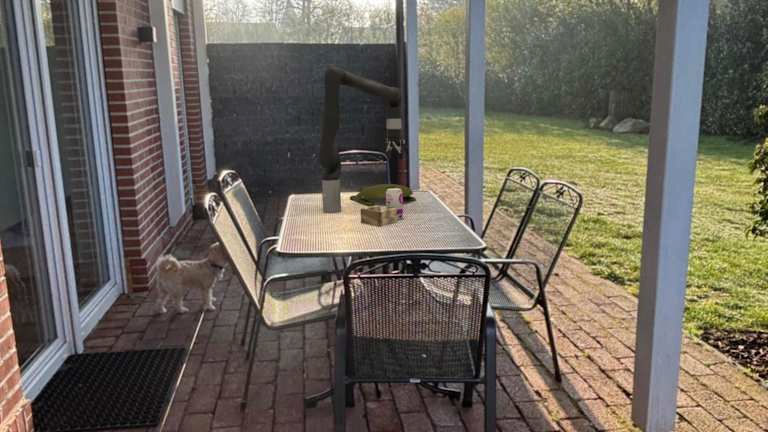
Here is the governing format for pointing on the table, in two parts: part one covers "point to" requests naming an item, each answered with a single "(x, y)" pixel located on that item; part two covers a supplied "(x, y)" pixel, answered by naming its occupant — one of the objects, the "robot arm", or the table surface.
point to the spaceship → (380, 193)
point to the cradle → (378, 216)
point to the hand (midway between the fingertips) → (394, 159)
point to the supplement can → (395, 201)
